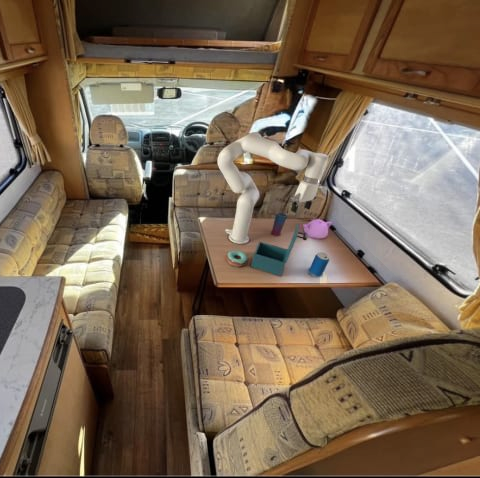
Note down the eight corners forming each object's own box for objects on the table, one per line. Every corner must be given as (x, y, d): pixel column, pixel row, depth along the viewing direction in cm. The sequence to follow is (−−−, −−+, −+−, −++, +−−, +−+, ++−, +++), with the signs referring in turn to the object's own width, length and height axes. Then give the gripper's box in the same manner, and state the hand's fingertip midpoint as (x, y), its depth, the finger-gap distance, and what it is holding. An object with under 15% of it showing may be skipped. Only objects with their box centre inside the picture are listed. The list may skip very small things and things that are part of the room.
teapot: (293, 229, 176) (298, 216, 170) (320, 227, 179) (326, 213, 173) (306, 241, 165) (311, 227, 159) (334, 238, 168) (340, 224, 162)
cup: (281, 237, 169) (288, 217, 160) (271, 235, 170) (277, 215, 161) (280, 231, 174) (286, 211, 165) (269, 230, 175) (275, 210, 166)
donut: (244, 270, 142) (245, 265, 139) (223, 263, 146) (224, 258, 144) (249, 258, 150) (250, 253, 148) (229, 252, 155) (230, 246, 152)
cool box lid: (295, 236, 124) (307, 240, 121) (298, 223, 133) (309, 226, 131) (284, 262, 133) (295, 266, 131) (287, 248, 143) (298, 252, 141)
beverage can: (321, 279, 137) (329, 261, 130) (307, 274, 140) (315, 257, 133) (322, 272, 141) (330, 254, 134) (309, 267, 144) (317, 250, 137)
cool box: (250, 266, 144) (254, 254, 139) (255, 253, 154) (259, 241, 149) (280, 276, 138) (284, 263, 133) (283, 261, 148) (288, 249, 143)
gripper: (317, 174, 134) (306, 204, 144) (292, 179, 128) (282, 209, 138) (330, 179, 128) (317, 210, 138) (304, 185, 122) (293, 216, 132)
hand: (300, 210), depth 138 cm, fingers open, 9 cm apart
